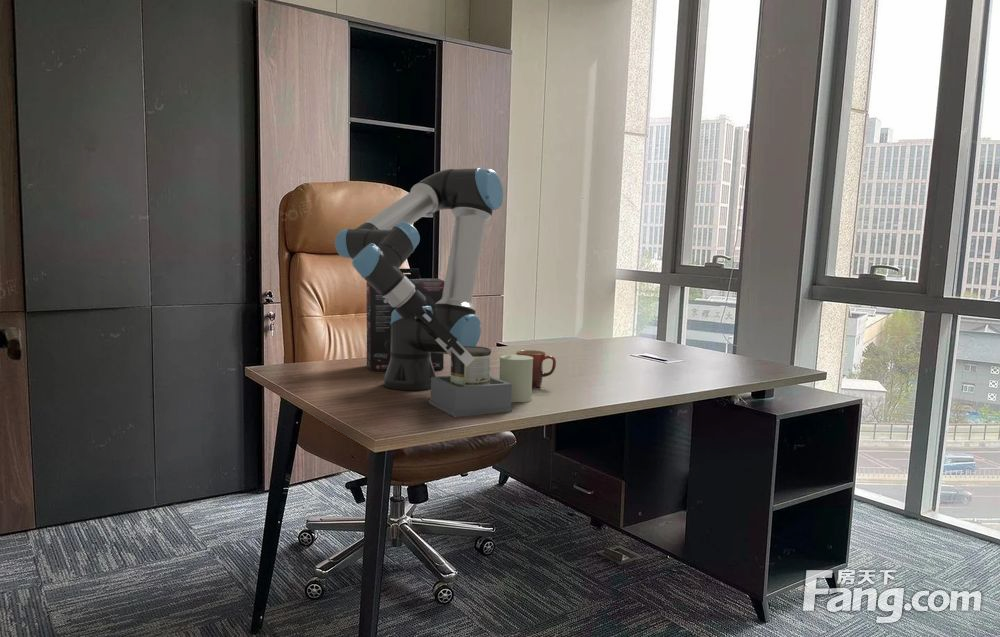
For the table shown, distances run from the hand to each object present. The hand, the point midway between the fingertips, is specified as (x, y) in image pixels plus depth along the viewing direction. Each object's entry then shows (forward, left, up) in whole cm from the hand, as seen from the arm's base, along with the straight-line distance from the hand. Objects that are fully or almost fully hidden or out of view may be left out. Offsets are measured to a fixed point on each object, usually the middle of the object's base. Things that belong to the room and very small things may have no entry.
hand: (463, 358), depth 185 cm
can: (-5, +18, -13) cm, 23 cm away
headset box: (-61, +7, -13) cm, 63 cm away
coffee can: (0, +2, -12) cm, 12 cm away
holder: (0, +2, -13) cm, 13 cm away
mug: (-18, +32, -13) cm, 39 cm away
